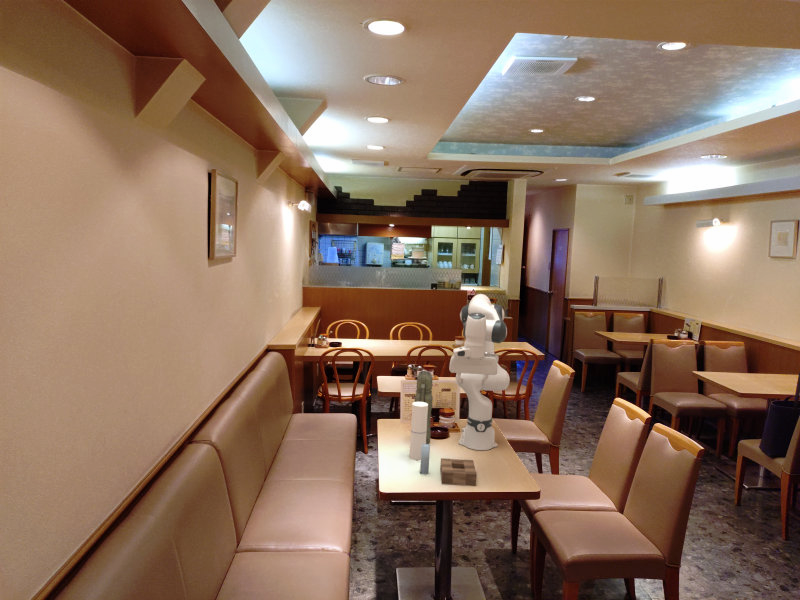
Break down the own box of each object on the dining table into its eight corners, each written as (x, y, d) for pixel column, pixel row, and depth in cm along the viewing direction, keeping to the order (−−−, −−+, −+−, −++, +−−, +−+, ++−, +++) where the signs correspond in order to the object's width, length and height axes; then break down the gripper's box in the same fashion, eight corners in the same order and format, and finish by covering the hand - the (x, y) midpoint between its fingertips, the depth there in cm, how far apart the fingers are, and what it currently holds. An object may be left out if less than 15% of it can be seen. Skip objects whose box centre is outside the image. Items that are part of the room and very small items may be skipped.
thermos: (411, 445, 262) (415, 374, 258) (412, 436, 274) (416, 368, 270) (430, 446, 262) (434, 376, 258) (430, 437, 274) (434, 370, 270)
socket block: (440, 469, 237) (440, 458, 236) (472, 471, 237) (473, 460, 236) (441, 483, 223) (442, 472, 222) (475, 485, 223) (476, 474, 222)
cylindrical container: (407, 458, 247) (410, 404, 244) (412, 452, 254) (415, 400, 251) (421, 461, 244) (425, 407, 242) (427, 455, 251) (430, 403, 248)
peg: (420, 470, 235) (421, 443, 234) (428, 470, 235) (429, 444, 233) (420, 473, 231) (421, 446, 230) (428, 474, 231) (430, 447, 230)
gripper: (497, 351, 232) (495, 383, 234) (450, 349, 233) (448, 380, 234) (500, 354, 226) (497, 387, 228) (451, 351, 226) (449, 384, 228)
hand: (472, 383), depth 231 cm, fingers open, 8 cm apart
